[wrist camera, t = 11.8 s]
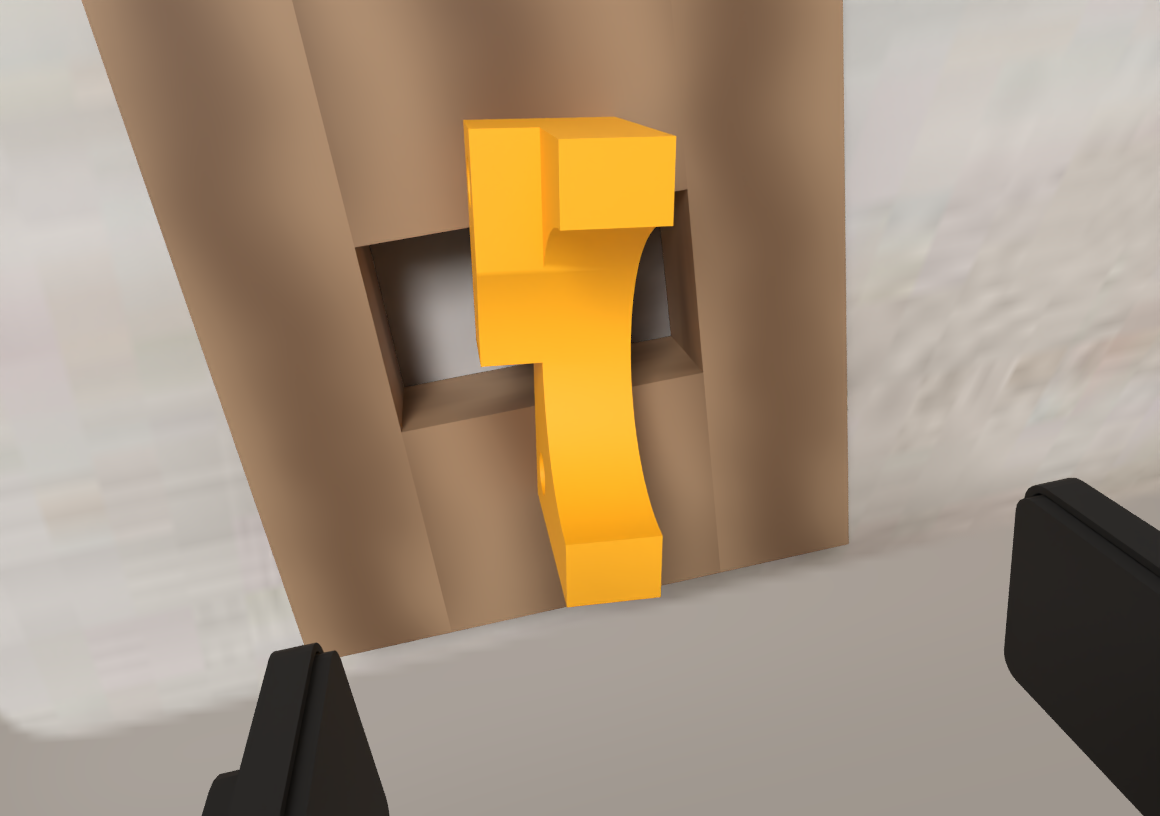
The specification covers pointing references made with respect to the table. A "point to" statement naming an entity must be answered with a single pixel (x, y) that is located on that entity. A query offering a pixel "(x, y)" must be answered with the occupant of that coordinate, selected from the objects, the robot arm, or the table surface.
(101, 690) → the table surface
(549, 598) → the cutout shelf
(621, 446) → the orange curved block
